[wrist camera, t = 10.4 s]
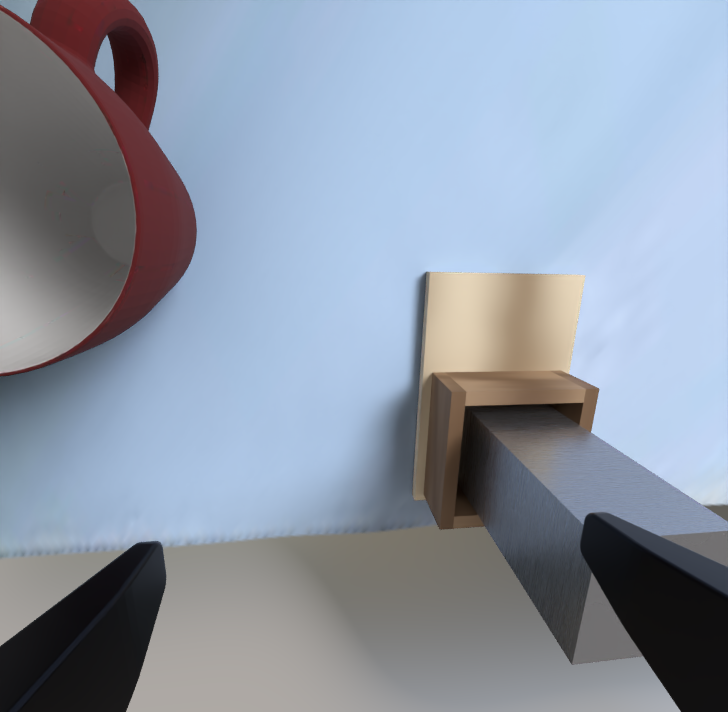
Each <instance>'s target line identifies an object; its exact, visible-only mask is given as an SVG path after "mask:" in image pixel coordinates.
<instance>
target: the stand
mask: <svg viewBox="0 0 728 712" xmlns="http://www.w3.org/2000/svg"><path fill="white" fill-rule="evenodd" d="M584 281H585V275H565V274H514V273H462V272H427V273H426V289H425V304H424V320H423V335H422V350H421V366H420V381H419V397H418V412H417V428H416V443H415V458H414V474H413V489H412V495H413V498H414V500H415V501H416V500H426V501H427V503H428V505H429V507H430V509H431V512H432V514H433V516H434V518H435V520H436V522H437V525H438V527H439V529H454V528H469V527H483V526H484V524H483V522H482V521H481V519H480V518H479V516H478V515H477V513H476V511H475V510H474V508H473V507H472V505H471V503H470V502H469V500H468V499H467V497H466V495H465V494H464V492H463V491H462V489H461V487H460V486H459V484H458V473H459V463H460V453H461V442H462V432H463V422H464V412H465V406H480V405H516V404H548V405H549V406H551V407H552V408H554V409H555V410H557V411H558V412H560V413H562V414H563V415H565V416H566V417H568V418H569V419H571V420H572V421H574V422H575V423H577V424H578V425H580V426H581V427H583V428H585V429H586V430H588V431H589V432H591V429H592V424H593V419H594V414H595V409H596V403H597V398H598V393H599V388H597V387H595V386H592V385H590V384H588V383H586V382H584V381H582V380H580V379H578V378H576V377H574V376H572V375H570V374H569V370H570V364H571V358H572V352H573V346H574V340H575V334H576V328H577V323H578V317H579V311H580V305H581V299H582V293H583V287H584Z"/></svg>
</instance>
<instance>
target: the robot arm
mask: <svg viewBox="0 0 728 712" xmlns="http://www.w3.org/2000/svg"><path fill="white" fill-rule="evenodd" d="M580 550H581V553H582V556H583V558H584V559H585V561H586V563H587V565H588V566H589V568H590V570H591V572H592V573H593V575H594V577H595V578H596V580H597V582H598V584H599V585H600V587H601V589H602V591H603V592H604V594H605V596H606V598H607V599H608V601H609V603H610V605H611V606H612V608H613V610H614V612H615V613H616V615H617V617H618V618H619V620H620V622H621V623H622V625H623V627H624V628H625V630H626V631H627V633H628V634H629V636H630V637H631V639H632V640H633V642H634V643H635V645H636V646H637V648H638V649H639V651H640V652H641V654H642V655H643V657H644V658H645V659H646V661H647V662H648V664H649V665H650V667H651V668H652V670H653V671H654V673H655V674H656V676H657V677H658V679H659V680H660V681H661V683H662V684H663V686H664V687H665V689H666V690H667V692H668V693H669V695H670V696H671V698H672V699H673V700H674V702H675V704H676V705H677V706H678V708H679V709H680V711H681V712H728V567H727V566H725V565H723V564H720V563H718V562H716V561H714V560H711V559H709V558H707V557H705V556H703V555H700V554H698V553H696V552H694V551H692V550H689V549H687V548H685V547H683V546H681V545H678V544H676V543H674V542H672V541H670V540H667V539H665V538H663V537H661V536H658V535H656V534H654V533H652V532H650V531H647V530H645V529H643V528H641V527H639V526H636V525H634V524H632V523H630V522H628V521H625V520H623V519H621V518H619V517H617V516H614V515H612V514H610V513H607V512H594V513H589V514H587V515H586V517H585V520H584V525H583V530H582V535H581V540H580ZM165 585H166V570H165V563H164V555H163V547H162V545H161V543H160V542H158V541H151V542H139V543H136V544H135V545H133V546H132V547H131V548H129V549H128V550H127V551H125V552H124V553H123V554H122V555H120V556H119V557H118V558H116V559H115V560H114V561H112V562H111V563H110V564H108V565H107V566H106V567H104V568H103V569H102V570H100V571H99V572H98V573H96V574H95V575H94V576H92V577H91V578H90V579H88V580H87V581H86V582H85V583H83V584H82V585H81V586H79V587H78V588H77V589H75V590H74V591H73V592H71V593H70V594H69V595H68V596H66V597H65V598H63V599H62V600H61V601H60V602H58V603H57V604H56V605H54V606H53V607H52V608H50V609H49V610H48V611H46V612H45V613H44V614H42V615H41V616H40V617H38V618H37V619H36V620H34V621H33V622H32V623H30V624H29V625H28V626H27V627H25V628H24V629H23V630H21V631H20V632H19V633H17V634H16V635H15V636H13V637H12V638H11V639H9V640H8V641H7V642H5V643H4V644H3V645H1V646H0V712H126V710H127V708H128V705H129V702H130V700H131V698H132V695H133V692H134V690H135V687H136V684H137V681H138V679H139V676H140V672H141V669H142V666H143V662H144V659H145V656H146V652H147V649H148V645H149V642H150V638H151V634H152V631H153V628H154V624H155V621H156V618H157V614H158V611H159V607H160V604H161V600H162V597H163V593H164V589H165Z"/></svg>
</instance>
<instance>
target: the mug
mask: <svg viewBox="0 0 728 712" xmlns="http://www.w3.org/2000/svg"><path fill="white" fill-rule="evenodd" d="M106 35H108V38H109V41H110V45H111V49H112V54H113V60H114V70H115V92H114V91H113V90H112V89H111V88H110V87H109V86H108V85H107V84H106V83H105V82H104V81H102V80H101V79H100V78H99V77H98V76H97V75H96V74H95V71H94V67H95V62H96V58H97V55H98V52H99V49H100V46H101V44H102V41H103V40H104V38H105V37H106ZM157 90H158V60H157V53H156V48H155V44H154V41H153V38H152V35H151V33H150V31H149V29H148V27H147V25H146V23H145V21H144V19H143V17H142V16H141V14H140V13H139V12H138V10H137V9H136V8H135V7H134V6H133V5H132V4H131V3H130V2H129V1H128V0H38V1H37V4H36V6H35V8H34V11H33V13H32V17H31V22H30V24H28V23H27V22H26V21H24V20H23V19H22V18H20V17H19V16H17V15H16V14H14V13H13V12H11V11H10V10H8V9H6V8H5V7H3V6H1V5H0V376H9V375H14V374H19V373H24V372H29V371H32V370H36V369H39V368H42V367H46V366H48V365H51V364H53V363H56V362H59V361H61V360H64V359H66V358H69V357H72V356H74V355H77V354H79V353H82V352H84V351H86V350H89V349H91V348H93V347H96V346H98V345H100V344H102V343H104V342H106V341H108V340H110V339H112V338H114V337H116V336H117V335H119V334H121V333H122V332H124V331H125V330H127V329H128V328H130V327H131V326H133V325H134V324H136V323H137V322H138V321H139V320H140V319H142V318H143V317H144V316H145V315H146V314H147V313H148V312H150V311H151V309H152V308H153V307H154V306H155V305H156V304H157V303H158V302H159V301H160V300H161V299H162V298H163V297H164V296H165V295H166V294H167V293H168V292H169V291H170V290H171V289H172V288H173V287H174V286H175V285H176V283H177V282H178V281H179V280H180V279H181V277H182V276H183V275H184V273H185V271H186V270H187V268H188V266H189V264H190V262H191V259H192V256H193V253H194V249H195V245H196V232H197V228H196V218H195V212H194V209H193V205H192V202H191V199H190V196H189V194H188V192H187V190H186V188H185V186H184V184H183V182H182V180H181V179H180V177H179V175H178V174H177V172H176V171H175V169H174V168H173V166H172V165H171V163H170V162H169V160H168V159H167V157H166V156H165V154H164V153H163V151H162V150H161V148H160V147H159V145H158V144H157V142H156V141H155V140H154V138H153V137H152V135H151V134H150V133H149V131H148V130H149V127H150V123H151V119H152V115H153V111H154V107H155V102H156V97H157Z"/></svg>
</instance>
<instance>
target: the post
mask: <svg viewBox="0 0 728 712" xmlns="http://www.w3.org/2000/svg"><path fill="white" fill-rule="evenodd" d="M458 484H459V486H460V487H461V489H462V491H463V492H464V494H465V495H466V497H467V499H468V500H469V502H470V503H471V505H472V507H473V508H474V510H475V511H476V513H477V515H478V516H479V518H480V519H481V521H482V522H483V524H484V526H485V527H486V529H487V530H488V532H489V534H490V535H491V537H492V538H493V540H494V542H495V543H496V545H497V546H498V548H499V550H500V551H501V553H502V554H503V556H504V557H505V559H506V561H507V562H508V564H509V565H510V567H511V569H512V570H513V572H514V573H515V575H516V577H517V578H518V580H519V581H520V583H521V584H522V586H523V588H524V589H525V591H526V592H527V594H528V596H529V597H530V599H531V600H532V602H533V603H534V605H535V607H536V608H537V610H538V612H539V613H540V615H541V616H542V618H543V620H544V621H545V623H546V624H547V626H548V628H549V629H550V631H551V632H552V634H553V635H554V637H555V639H556V640H557V642H558V643H559V645H560V646H561V648H562V650H563V651H564V653H565V655H566V656H567V658H568V659H569V661H570V663H571V664H572V665H574V664H582V663H591V662H599V661H608V660H616V659H624V658H633V657H641V656H643V655H642V654H641V652H640V651H639V649H638V648H637V646H636V645H635V643H634V642H633V640H632V639H631V637H630V636H629V634H628V633H627V631H626V630H625V628H624V627H623V625H622V623H621V622H620V620H619V618H618V617H617V615H616V613H615V612H614V610H613V608H612V606H611V605H610V603H609V601H608V599H607V598H606V596H605V594H604V592H603V591H602V589H601V587H600V585H599V584H598V582H597V580H596V578H595V577H594V575H593V573H592V572H591V570H590V568H589V566H588V565H587V563H586V561H585V559H584V558H583V556H582V553H581V550H580V540H581V535H582V530H583V525H584V520H585V517H586V515H587V514H589V513H594V512H607V513H610V514H612V515H614V516H617V517H619V518H621V519H623V520H625V521H628V522H630V523H632V524H634V525H636V526H639V527H641V528H643V529H645V530H647V531H650V532H652V533H654V534H656V535H658V536H661V537H663V538H665V539H667V540H670V541H672V542H674V543H676V544H678V545H681V546H683V547H685V548H687V549H689V550H692V551H694V552H696V553H698V554H700V555H703V556H705V557H707V558H709V559H711V560H714V561H716V562H718V563H720V564H723V565H725V566H727V567H728V522H727V521H726V520H724V519H723V518H721V517H720V516H718V515H717V514H715V513H713V512H712V511H710V510H709V509H707V508H706V507H704V506H703V505H701V504H700V503H698V502H697V501H695V500H694V499H692V498H690V497H689V496H687V495H686V494H684V493H683V492H681V491H680V490H678V489H677V488H675V487H674V486H672V485H671V484H669V483H667V482H666V481H664V480H663V479H661V478H660V477H658V476H657V475H655V474H654V473H652V472H651V471H649V470H647V469H646V468H644V467H643V466H641V465H640V464H638V463H637V462H635V461H634V460H632V459H631V458H629V457H628V456H626V455H624V454H623V453H621V452H620V451H618V450H617V449H615V448H614V447H612V446H611V445H609V444H608V443H606V442H604V441H603V440H601V439H600V438H598V437H597V436H595V435H594V434H592V433H591V432H589V431H588V430H586V429H585V428H583V427H581V426H580V425H578V424H577V423H575V422H574V421H572V420H571V419H569V418H568V417H566V416H565V415H563V414H562V413H560V412H558V411H557V410H555V409H554V408H552V407H551V406H549V405H548V404H516V405H480V406H465V412H464V422H463V432H462V442H461V453H460V463H459V473H458Z"/></svg>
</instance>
